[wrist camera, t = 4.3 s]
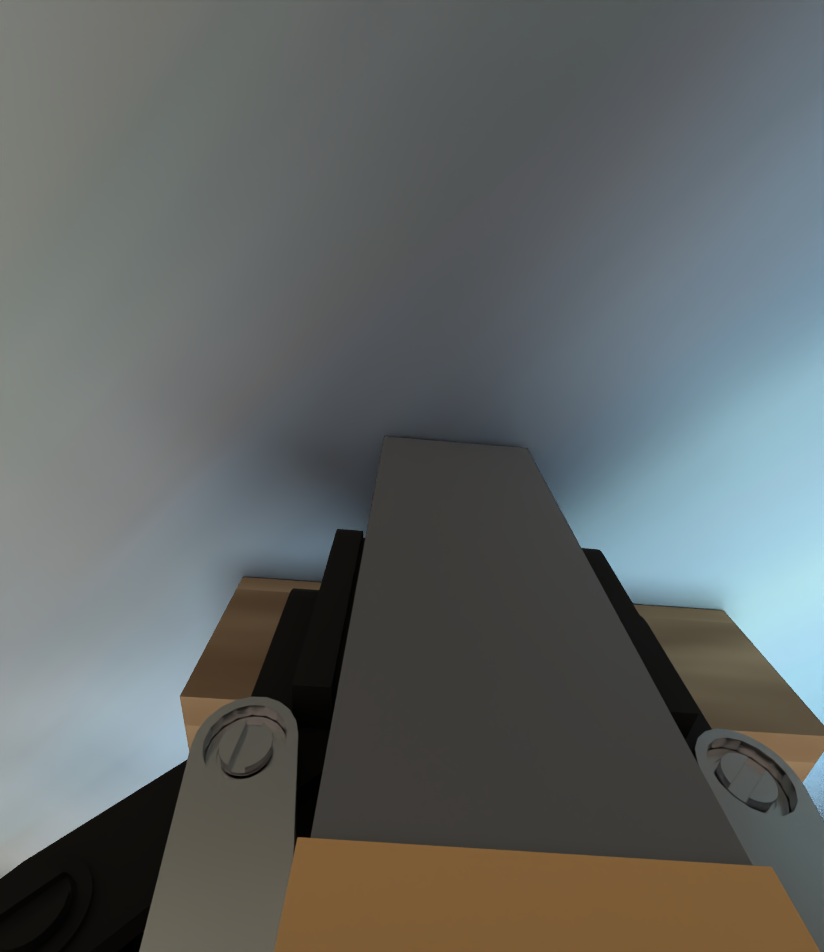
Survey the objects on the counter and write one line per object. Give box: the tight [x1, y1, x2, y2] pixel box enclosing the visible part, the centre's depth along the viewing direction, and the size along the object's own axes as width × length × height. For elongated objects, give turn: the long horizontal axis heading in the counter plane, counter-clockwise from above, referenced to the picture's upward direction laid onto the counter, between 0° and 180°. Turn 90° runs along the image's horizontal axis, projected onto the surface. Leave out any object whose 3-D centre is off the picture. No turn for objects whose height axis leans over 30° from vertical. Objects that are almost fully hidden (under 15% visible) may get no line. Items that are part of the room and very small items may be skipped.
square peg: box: [274, 436, 820, 952], centre depth 9 cm, size 4×4×12 cm
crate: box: [180, 577, 824, 783], centre depth 17 cm, size 18×16×5 cm
